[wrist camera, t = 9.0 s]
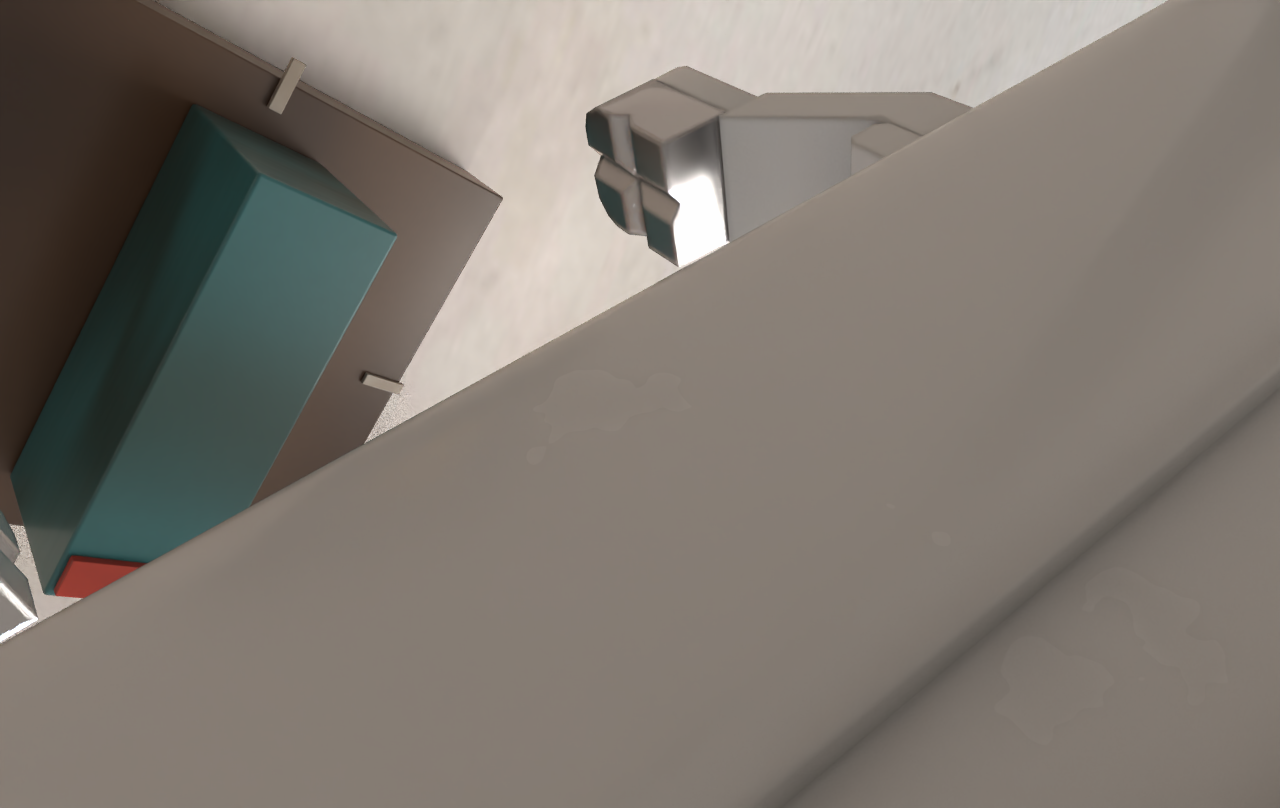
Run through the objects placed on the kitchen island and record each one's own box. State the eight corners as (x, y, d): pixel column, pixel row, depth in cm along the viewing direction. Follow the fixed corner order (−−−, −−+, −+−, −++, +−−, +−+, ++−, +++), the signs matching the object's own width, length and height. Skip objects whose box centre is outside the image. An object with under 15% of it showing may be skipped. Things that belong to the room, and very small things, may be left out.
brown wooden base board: (-318, 449, 23) (-325, 510, 21) (-67, -153, 20) (-53, -136, 18) (268, 534, 34) (294, 578, 32) (479, 157, 31) (518, 184, 30)
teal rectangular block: (191, 101, 23) (263, 176, 20) (322, 164, 26) (404, 239, 22) (8, 476, 25) (44, 603, 22) (146, 498, 28) (198, 614, 24)
